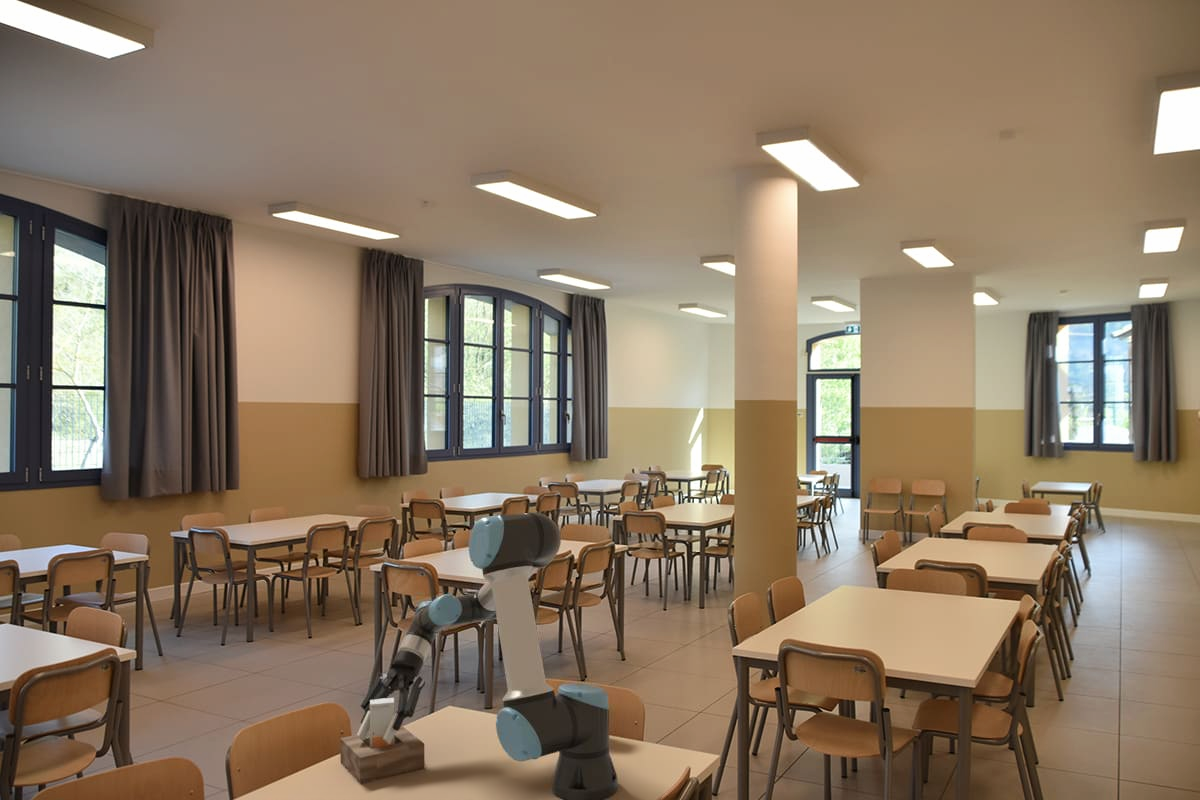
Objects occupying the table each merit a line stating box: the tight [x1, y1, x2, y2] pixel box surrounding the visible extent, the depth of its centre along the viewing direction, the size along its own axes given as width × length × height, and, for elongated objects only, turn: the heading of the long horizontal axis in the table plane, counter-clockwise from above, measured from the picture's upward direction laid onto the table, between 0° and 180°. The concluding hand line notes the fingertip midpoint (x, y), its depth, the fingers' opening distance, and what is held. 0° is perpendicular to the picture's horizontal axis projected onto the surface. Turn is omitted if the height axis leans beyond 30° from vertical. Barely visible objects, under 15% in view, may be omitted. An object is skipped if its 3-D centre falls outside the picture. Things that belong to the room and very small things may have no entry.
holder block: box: [339, 725, 425, 784], centre depth 212 cm, size 16×16×6 cm
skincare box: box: [369, 697, 396, 749], centre depth 212 cm, size 6×4×12 cm
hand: (373, 739), depth 209 cm, fingers closed on skincare box, 7 cm apart
